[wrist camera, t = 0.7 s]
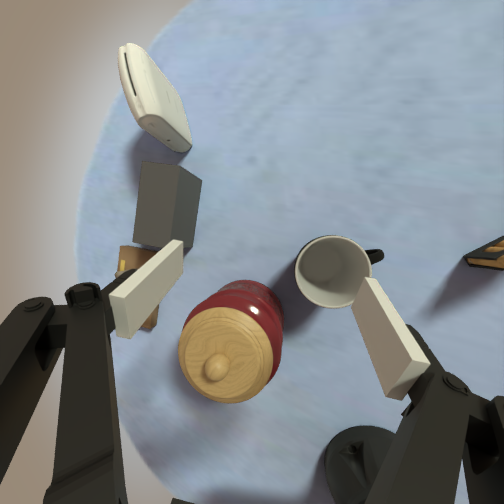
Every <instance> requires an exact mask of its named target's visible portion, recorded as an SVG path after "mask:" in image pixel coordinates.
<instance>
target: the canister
mask: <svg viewBox="0 0 504 504" xmlns="http://www.w3.org/2000/svg"><path fill="white" fill-rule="evenodd" d="M283 327H284V313H283V309H282V306H281V304H280V301H279V300H278V298H277V297H276V295H275V294H274V293H273V292H272V291H271V290H270V289H269V288H268V287H266V286H265V285H263V284H261V283H259V282H256V281H251V280H238V281H234V282H231V283H229V284H227V285H225V286H224V287H222V288H221V289H220V290H219V291H218V292H217V293H215V294H213V295H211V296H210V297H208V298H207V299H206V300H205V301H203V302H201V303H200V304H198V305H197V306H196V307H195V308H194V309H193V310H192V311H191V313H190V314H189V316H188V317H187V319H186V321H185V324H184V326H183V330H182V334H181V336H180V340H179V345H178V356H179V362H180V366H181V369H182V371H183V373H184V375H185V377H186V379H187V380H188V381H189V383H190V384H191V385H192V386H193V387H194V388H195V389H196V390H197V391H198V392H199V393H201V394H202V395H204V396H205V397H207V398H209V399H211V400H214V401H217V402H221V403H239V402H243V401H246V400H248V399H250V398H252V397H254V396H255V395H257V394H258V393H259V392H260V391H261V390H262V389H263V388H264V386H265V385H267V384H268V383H269V382H270V380H271V379H272V378H273V377H274V375H275V373H276V371H277V369H278V367H279V364H280V360H281V352H282V342H283V334H282V332H283Z"/></svg>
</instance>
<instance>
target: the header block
mask: <svg viewBox="0 0 504 504" xmlns="http://www.w3.org/2000/svg"><path fill="white" fill-rule="evenodd" d="M157 253H158V251H153V250H148V249H143V248H138V247H133V246H120V252H119V261H118V269H117V272H116V273H115V277H116V278H118V277H119V276H120V275H121V274H122V273H124V272H126V271H128V270H130V269H137V270H138V269H139V268H140V267H142V266H143V265H144V264H145V263H146V262H147V261H149V260H150V259H151V258H152V257H153V256H154V255H156V254H157ZM158 309H159V304H158V305H157V307H156V308H155V309H154V310H153V312H152V313H151V314H150V315H149V317H148V318H147V319H146V321H145V322H144V323H143V324H142V326H141V327H144V328H148V329H151V328H152V327H154V326H155V325H156V324H157V316H158Z"/></svg>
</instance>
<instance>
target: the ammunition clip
mask: <svg viewBox="0 0 504 504" xmlns="http://www.w3.org/2000/svg"><path fill="white" fill-rule="evenodd" d="M464 258H465V260H466V261H467V263H468V265H469V266H470V267H479V268H486V269H494V270H502V271H503V270H504V236H502V237H500V238H498V239H496V240H494V241H492V242H490V243H488V244H486V245H484V246H482V247H480V248H478V249H476V250H474V251H472V252H470V253H468V254H466V255H464Z"/></svg>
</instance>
